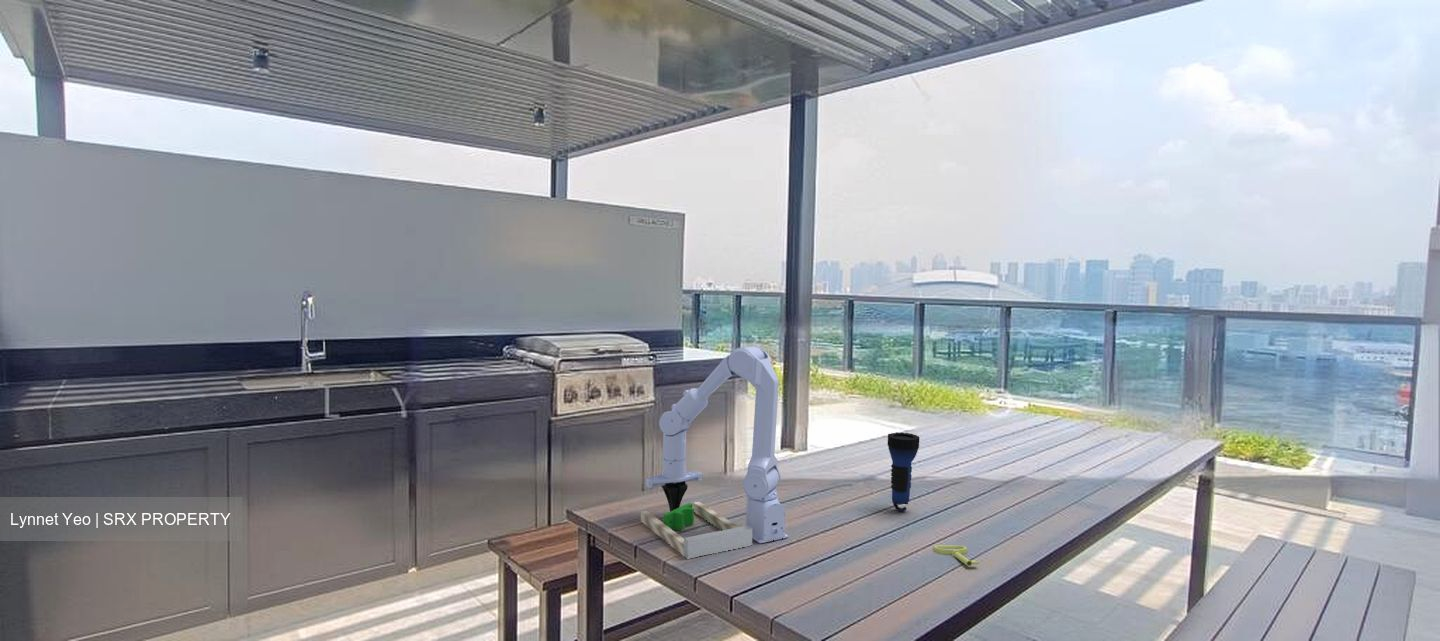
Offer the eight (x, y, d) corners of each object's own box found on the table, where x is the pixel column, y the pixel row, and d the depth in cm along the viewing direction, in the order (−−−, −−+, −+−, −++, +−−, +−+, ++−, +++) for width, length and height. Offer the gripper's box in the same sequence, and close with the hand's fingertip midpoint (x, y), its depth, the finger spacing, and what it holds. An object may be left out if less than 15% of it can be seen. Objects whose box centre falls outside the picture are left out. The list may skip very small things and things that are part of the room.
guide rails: (747, 542, 145) (747, 532, 145) (683, 556, 138) (683, 544, 137) (698, 511, 166) (698, 501, 166) (640, 521, 158) (640, 511, 158)
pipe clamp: (675, 535, 150) (675, 517, 150) (663, 532, 152) (663, 514, 152) (700, 522, 159) (700, 505, 159) (688, 519, 161) (688, 502, 160)
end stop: (752, 546, 144) (752, 528, 143) (687, 559, 136) (688, 541, 136) (747, 542, 145) (747, 525, 145) (683, 556, 138) (683, 537, 137)
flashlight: (917, 518, 163) (918, 440, 162) (884, 514, 165) (886, 437, 165) (918, 508, 170) (919, 433, 170) (887, 505, 173) (888, 431, 172)
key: (968, 572, 132) (969, 562, 132) (928, 550, 144) (929, 540, 144) (996, 567, 135) (996, 557, 135) (954, 546, 146) (954, 537, 146)
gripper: (693, 451, 167) (692, 503, 167) (641, 457, 160) (640, 511, 160) (706, 457, 161) (705, 511, 161) (652, 464, 154) (652, 520, 154)
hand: (674, 512), depth 160 cm, fingers closed
